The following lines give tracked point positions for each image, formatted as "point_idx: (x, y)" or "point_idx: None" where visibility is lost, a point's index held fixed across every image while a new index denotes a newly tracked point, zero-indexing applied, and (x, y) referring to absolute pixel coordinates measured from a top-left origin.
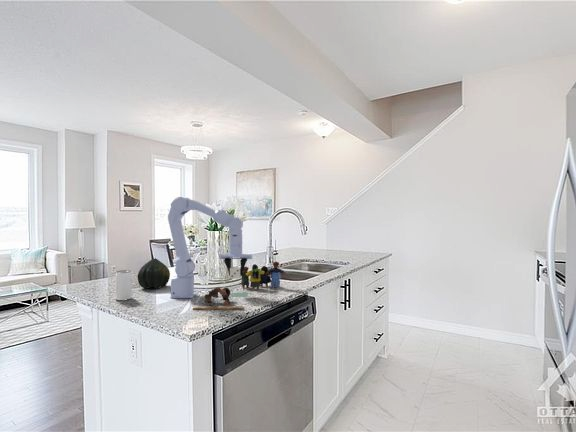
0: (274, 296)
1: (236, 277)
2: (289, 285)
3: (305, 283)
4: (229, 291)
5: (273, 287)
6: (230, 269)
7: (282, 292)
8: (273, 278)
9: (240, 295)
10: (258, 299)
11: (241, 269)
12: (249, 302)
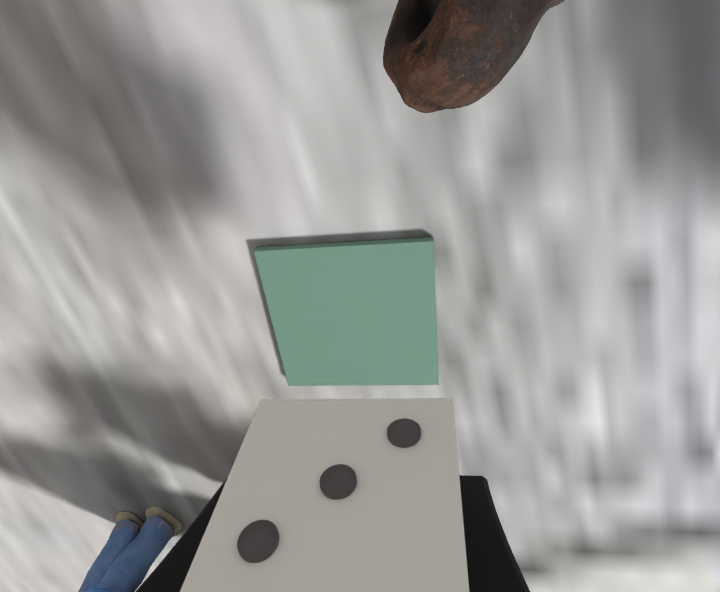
0: (19, 303)
1: (321, 412)
2: (86, 560)
3: (18, 587)
4: (393, 52)
5: (150, 515)
6: (448, 586)
7: (30, 416)
8: (105, 589)
9: (332, 295)
10: (104, 187)
11: (176, 583)
12: (138, 39)
